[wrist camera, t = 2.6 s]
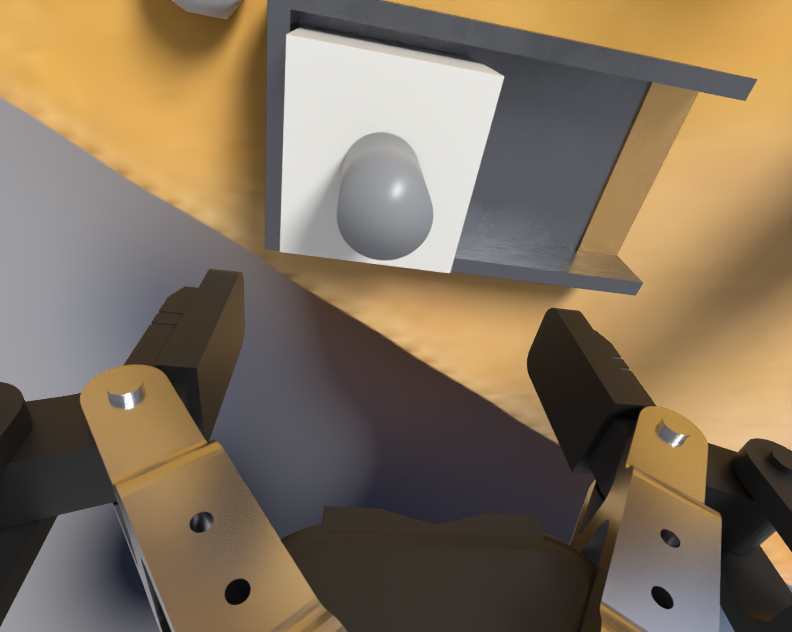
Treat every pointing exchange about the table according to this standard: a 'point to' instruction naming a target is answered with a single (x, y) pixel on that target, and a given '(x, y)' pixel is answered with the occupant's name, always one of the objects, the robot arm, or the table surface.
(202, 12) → the tube
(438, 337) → the table surface
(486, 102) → the white knobbed block
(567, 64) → the bay
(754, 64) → the table surface
